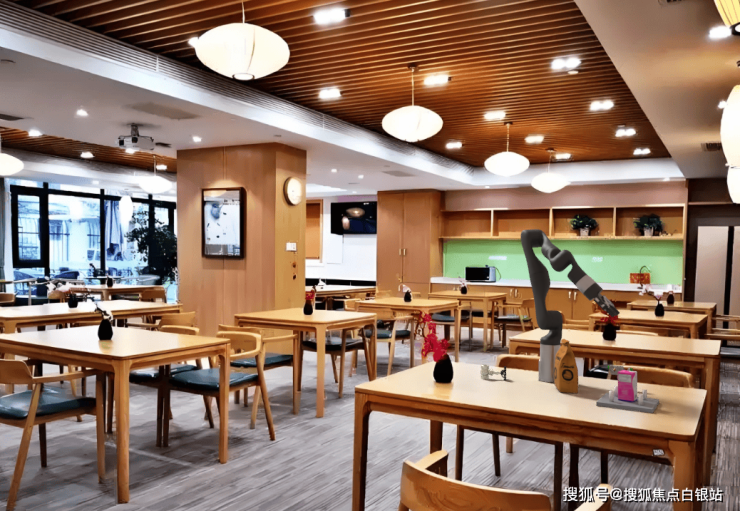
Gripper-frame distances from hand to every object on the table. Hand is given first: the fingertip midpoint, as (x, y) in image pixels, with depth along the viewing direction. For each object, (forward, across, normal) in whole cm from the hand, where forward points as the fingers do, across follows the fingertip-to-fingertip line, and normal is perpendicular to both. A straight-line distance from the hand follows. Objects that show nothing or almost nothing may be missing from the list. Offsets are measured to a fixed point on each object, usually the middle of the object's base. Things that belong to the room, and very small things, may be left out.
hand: (616, 315), depth 254 cm
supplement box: (+28, -18, +18) cm, 38 cm away
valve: (-15, 0, +63) cm, 64 cm away
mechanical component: (+24, +12, +24) cm, 36 cm away
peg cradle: (+29, -18, +18) cm, 39 cm away
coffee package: (+10, -6, +38) cm, 39 cm away
